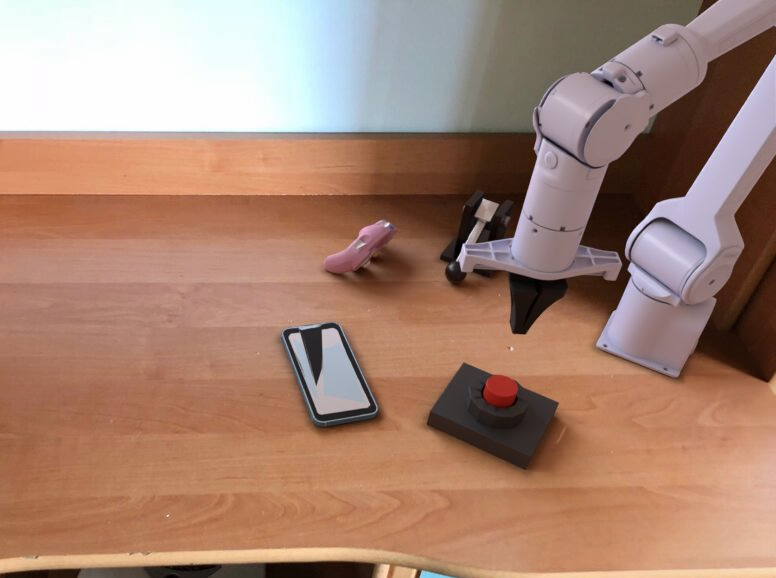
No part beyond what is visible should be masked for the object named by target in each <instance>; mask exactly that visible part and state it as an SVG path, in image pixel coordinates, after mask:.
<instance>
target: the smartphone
mask: <svg viewBox="0 0 776 578" xmlns="http://www.w3.org/2000/svg"><path fill="white" fill-rule="evenodd" d="M280 338H281V341H282V344H283V347H284V350H285V352H286V354H287V358H288V360H289V363H290V366H291V368H292V371H293V373H294V376H295V379H296V381H297V384H298V387H299V389H300V392H301V395H302V398H303V400H304V402H305V405H306V409H307V411H308V414H309V416H310V419H311V422H312V423H313V424H314V425H315V426H317V427H320V428H324V427H330V426H336V425H341V424H347V423H354V422H359V421H360V422H361V421H365V420H370V419H374V418H375V417H377V415H378V412H379V406H378V404H377V401H376V399H375V398H374V395H373V393H372V390H371V389H370V386H369V384H368V382H367V379H366V377H365V375H364V373H363V370H362V368H361V367H360V364H359V362H358V359H357V357H356V355H355V353H354V351H353V348H352V346H351V344H350V342H349V339H348V338H347V336H346V333H345V332H344V330H343V327H342V325H341V324H340V323H339V322H336V321H326V322H325V321H324V322H319V323H313V324H305V325H304V324H303V325H297V326H291V327H286V328H283V329H282V331H281V335H280Z"/></svg>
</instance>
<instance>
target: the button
mask: <svg viewBox="0 0 776 578" xmlns="http://www.w3.org/2000/svg"><path fill="white" fill-rule="evenodd" d="M493 375H494V376H492V377H490V378H489V379H488V380H487V382H486V386H485V389H484V392H483V397H484V399H485V401H486V402H487V403H488V404H490V405H492V406H494V407H497V408H507V407H509V406H511V405H512V404H513V402H514V400H515V397H516V394H517V391H518V386H517V384H516V382H515V381H516V380H515V379H513V378H511V377H509V376H508V375H503V374H493ZM512 379H513V380H512ZM514 380H515V381H514Z"/></svg>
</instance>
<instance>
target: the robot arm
mask: <svg viewBox="0 0 776 578" xmlns="http://www.w3.org/2000/svg"><path fill="white" fill-rule="evenodd" d="M772 27H775V28H776V0H717V1H716V2H715V3H713V4H712V5H711V6H710V7H708V8H707V9H706V10H705V11H703V12H702V13H700V15H698V16H697V17H695V18H694V19H693V20H692V21H691V22H689V23H688V24H687V25H686V26H684V25H681V24H677V23H666V24H662V25H660V26H659V27H658V28H656V29H654V30H653V31H652V32H651V33H649V34H647V35H646V36H644V37H643V38H641V39H640V40H638V41H637V42H635V43H634V44H632V45H631V46H629V47H627V48H626V49H624V50H623V51H621V52H620V53H619V54H617V55H616V56H614V57H613V58H611V59H610V60H608V61H607V62H605V63H603V64H602V65H600V66H599V67H597V68H596V69H595V70H593V71H592V72H590V73H588V72H584V71H581V72H578V71H577V72H575V73H569V74H566V75H564V76H562V77H560V78H558V79H557V80H556V81H554V82H553V83H552V84H551V85H550V86H549V87H548V89H547V90H546V92H545V93H544V94H543V96H542V98H541V100H540V103H539V105H538V106H536V107H534V109H533V113H532V126H533V129H534V131H535V133H536V140H535V144H534V147H533V150H534V152H535V154H536V160H535V165H534V167H533V171H532V174H531V178H530V181H529V183H528V184H529V185H528V188H527V191H526V195H525V199H524V202H523V205H522V209H521V213H520V216H519V219H518V222H517V226H516V230H515V233H514V236H513V237H508V238H509V239H503V240H497V241H491V242H485V243H477V244H463V246H462V250H461V254H460V258H459V261H460V267H461V271H462V272H467V273H474V272H473V268H474V269H491V270H494V271H505V272H506V275H507V281H508V287H509V295H510V314H509V320H508V323H509V325H510V330H511V333H512V334H513V335H527V333H528V332H529V330H530V329H531V327H532V326H533V325H534V324H535V322H536V321H537V320H538V319H539V318H540V317H541V315H542V314H543V313H544V312H545V311H546V310H547V309H549V308H550V307H551V306H552V305H554V304H555V303H557V301H559V300H561V299H563V298H565V295H566V294H567V291H568V289H569V284H568V282H567V281H568V280H567V279H568V278H572V277H573V278H574V277H578V276H579V277H580V276H601V277H602V278H603V280H606V281H617V278H618V276H619V275H620V274H619V273H620V271H621V269H622V267H623V262H622V261H621V258H620V256H619V253H618V252H617V251H609V250H602V249H598V248H594V247H590V246H585V245H581V241H582V238H583V236H584V232H585V231H586V227H587V224H588V222H589V219H590V217H591V213H592V211H593V208H594V205H595V203H596V200H597V197H598V194H599V191H600V190H601V189H600V188H601V186H602V184H603V181H604V179H605V175H606V172H607V170H608V168H609V164H610V163H612V162H613V161H616V160H618V159H619V158H621V156H623V155H624V153H626V151H627V150H628V149H629V148H630V146H631V145H632V144H633V143H634V141H635V139H636V138H637V137H638V136H639V135H640V134H641V133H642V132H644V131H645V129H646V127H648V126H649V124H650V123H649V122H650V118H652V117H653V116H655V115H657V114H659V112H662V110H664V109H665V108H667V107H668V106H670V105H671V104H673V103H674V102H676V101H678V100H680V99H681V98H682V97H684V96H685V95H687V94H688V93H689V92H691V91H692V90H694V89H695V88H697V87H698V86H700V84H701V83H703V81H704V79H705V77H706V74H707V71H708V63H710V62H711V61H714V60H715V59H717V58H719V57H721V56H722V55H725V54H727V53H728V52H729V51H731V50H733V49H735V48H737V47H738V46H741V45H742V44H744V43H746V42H748V41H749V40H751V39H752V38H754V37H756V36H759V35H760V34H762V33H763V32H765V31H766V30H769V29H771V28H772ZM774 157H776V54H775V55H774V57H772V59H771V61H770V63H769V64H768V66H767V67H766V68H765V71H764V72H763V73H762V75H761V76H760V78H759V80H758V81H757V83H756V84H755V86H754V88H753V90H752V91H751V92H750V94H749V96H748V97H747V99H746V100H745V102H744V104H743V105H742V106H741V108H740V109H739V111H738V113H737V114H736V116H735V118H734V119H733V121H732V122H731V124H730V125H729V126H728V128H727V130H726V132H725V133H724V135H723V136H722V138H721V139H720V141H719V143H718V144H717V146H716V147H715V149H714V150H713V152H712V154H711V155H710V157H709V158H708V159H707V161H706V163H705V164H704V166H703V168H702V169H701V171H700V172H699V174H698V175H697V176H696V178H695V180H694V182H693V183H692V185H691V186H690V188H689V189H688V191H687V193H686V195H685V196H680V197H674V198H668V199H664V200H661V201H659V202H657V203H656V204H655V205H654V206H653V207H652V210H650V212H649V213H648V214H647V215H646V216H645V218H644V219H643V220H642V221H641V222H639V224H638V225H636V226H635V228H634V229H633V230H632V231H631V233H630V235H629V236H628V238H627V241H626V244H625V249H624V256H625V258H626V259H627V260H628V261H629V262H630V263H629V265H628V268H627V272H628V273H630V275H631V276H630V277H629V279H628V283H627V285H626V287H625V289H624V292H623V294H622V296H621V299H620V301H619V303H618V305H617V308H616V310H613V311H612V313H611V315H610V317H609V318H608V321H607V323H606V325H605V326H604V328H603V330H602V332H601V334H600V336H599V338H598V340H597V342H596V344H595V347H596V348H597V349H599V350H601V351H603V352H605V353H608V354H611V355H614V356H617V357H619V358H621V359H624V360H627V361H629V362H632V363H634V364H637V365H640V366H642V367H645V368H648V369H649V370H652V371H655V372H658V373H660V374H663V375H665V376H668V377H671V378H673V379H677V378H678V377H679V376H680V373H681V371H682V369H683V367H684V366H685V364H686V362H687V361H688V358H689V357H690V355H693V353H694V351H695V350H696V348H697V346H698V343H699V339H700V337H701V335H702V333H703V331H704V329H705V327H706V326H707V323H708V321H709V319H710V317H711V315H712V313H713V311H714V308H715V306H716V303H717V298H716V297H714V296H716V294H718V292H720V291H721V289H722V288H723V287H724V286H725V285H726V283H727V282H728V281H729V279H730V278H731V276H732V273H733V269H734V266H735V265H736V262H737V261H738V259H739V257H740V255H741V254H742V252H743V250H744V248H745V243H744V239H743V237H742V235H741V233H740V230H739V227H738V224H737V222H736V218H735V214H736V213H737V211H738V210H739V208H740V207H741V205H742V204H743V203H744V201H745V200H746V199H747V197H748V195H749V194H750V192H751V191H752V189H753V188H754V186H755V185H756V184H757V182H758V181H759V179H760V178H761V176H762V175H763V174H764V172H765V170H766V169H767V168H768V167H769V165H770V163H771V162H772V161H773V159H774Z"/></svg>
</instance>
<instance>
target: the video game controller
mask: <svg viewBox="0 0 776 578" xmlns="http://www.w3.org/2000/svg"><path fill="white" fill-rule="evenodd" d="M397 232H398V229H397V227H395V226H394V225H393V224H392V223H391V222H389V221H386V220H385V219H381V220H379V221H377V222H375V223H374V224H371V225H367V226H364V227H363V228H361V229H360V230H359V232H358V237H357V238H356V239H354V240H353V241H352V242H351V243H350V244H349V246H347V247H346V248H345V249H344V250H342V251H339V252H337V253H333V254H329V255H327V257H325V259H324V262H323V266H324V269H325V270H326V271H328V272H329V273H332V274H345V273H349V272H350V271H354V272H356V271H357V270H358V269H360V268H361V267H362V266H363V268H366V267H368V266H369V265H370V264H371V259H372V258H376V257H378V256H379V251H380V250H381V249H382V248H383V247H384V246H385V245H387V244H389V243H390V241H392V239H393V238H394V236H395V235H396V234H397Z"/></svg>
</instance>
